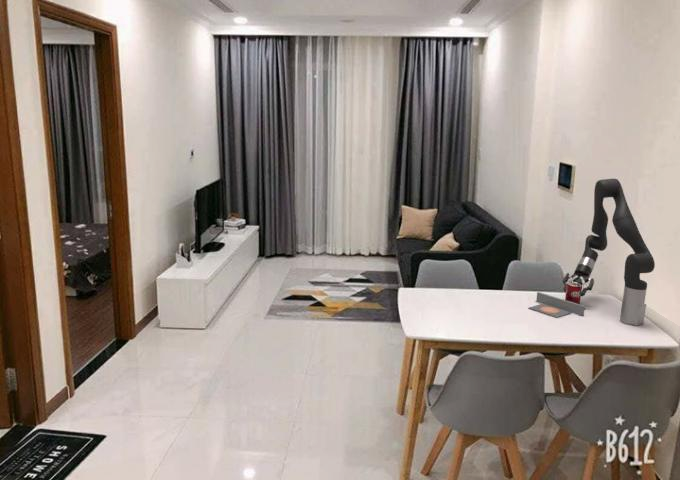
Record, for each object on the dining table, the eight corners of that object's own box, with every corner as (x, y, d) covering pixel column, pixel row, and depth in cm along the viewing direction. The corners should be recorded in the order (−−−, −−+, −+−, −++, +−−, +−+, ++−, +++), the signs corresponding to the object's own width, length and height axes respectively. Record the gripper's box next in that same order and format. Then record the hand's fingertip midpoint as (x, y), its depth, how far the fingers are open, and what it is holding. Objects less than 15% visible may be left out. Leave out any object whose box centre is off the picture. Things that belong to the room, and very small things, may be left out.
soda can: (561, 305, 284) (563, 283, 282) (571, 303, 288) (574, 281, 285) (572, 309, 278) (575, 287, 276) (582, 308, 281) (585, 285, 279)
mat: (571, 313, 272) (571, 312, 272) (556, 318, 265) (557, 316, 265) (542, 304, 285) (543, 303, 285) (528, 308, 278) (528, 307, 278)
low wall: (583, 315, 270) (584, 306, 269) (582, 316, 269) (583, 306, 268) (537, 301, 290) (538, 292, 289) (536, 301, 290) (537, 292, 289)
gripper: (569, 261, 289) (557, 286, 284) (597, 266, 279) (586, 292, 274) (572, 269, 294) (561, 294, 288) (600, 274, 284) (588, 300, 279)
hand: (573, 293), depth 281 cm, fingers open, 8 cm apart
